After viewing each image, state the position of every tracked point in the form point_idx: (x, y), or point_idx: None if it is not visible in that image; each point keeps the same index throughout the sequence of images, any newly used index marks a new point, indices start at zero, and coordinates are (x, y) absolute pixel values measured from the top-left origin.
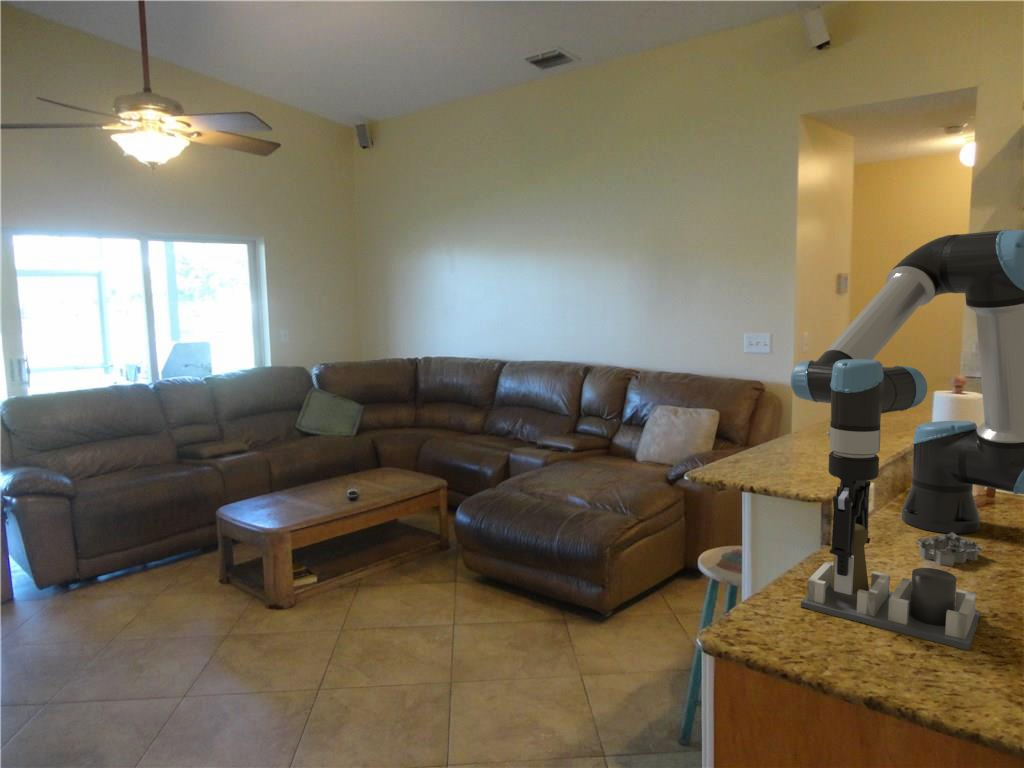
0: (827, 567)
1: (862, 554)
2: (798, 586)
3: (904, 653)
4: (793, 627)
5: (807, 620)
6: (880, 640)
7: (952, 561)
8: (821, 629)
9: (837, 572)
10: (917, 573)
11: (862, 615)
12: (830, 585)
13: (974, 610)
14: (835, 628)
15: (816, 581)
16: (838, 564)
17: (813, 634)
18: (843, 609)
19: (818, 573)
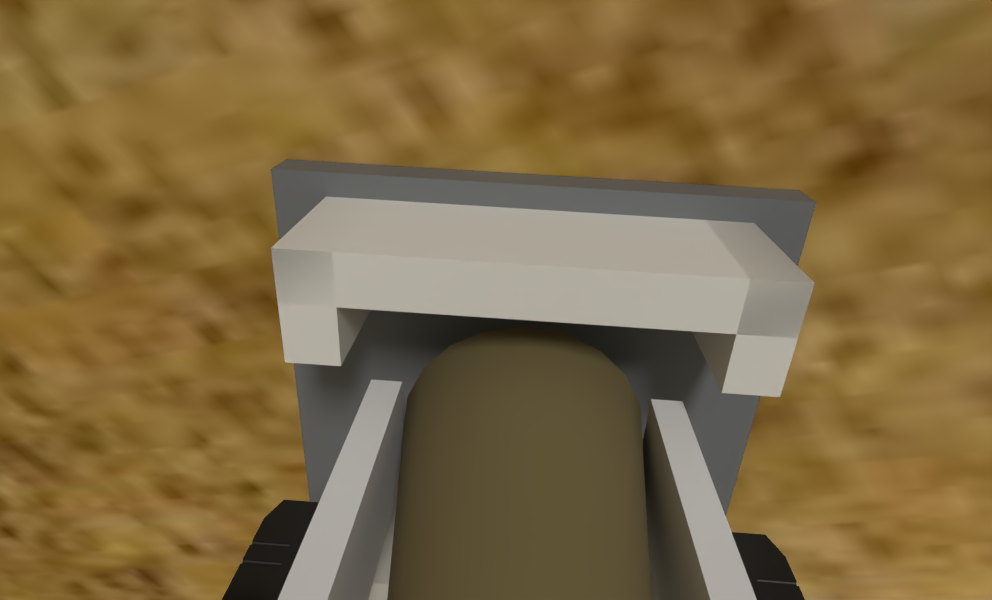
0: (655, 322)
1: None
2: (630, 49)
3: (168, 588)
4: (4, 192)
5: (147, 236)
6: (206, 522)
7: None
8: (106, 317)
9: (266, 518)
10: None
11: (325, 472)
12: (465, 341)
13: None
14: (171, 368)
15: (294, 310)
16: (238, 583)
17: (22, 297)
18: (335, 393)
19: (471, 290)
